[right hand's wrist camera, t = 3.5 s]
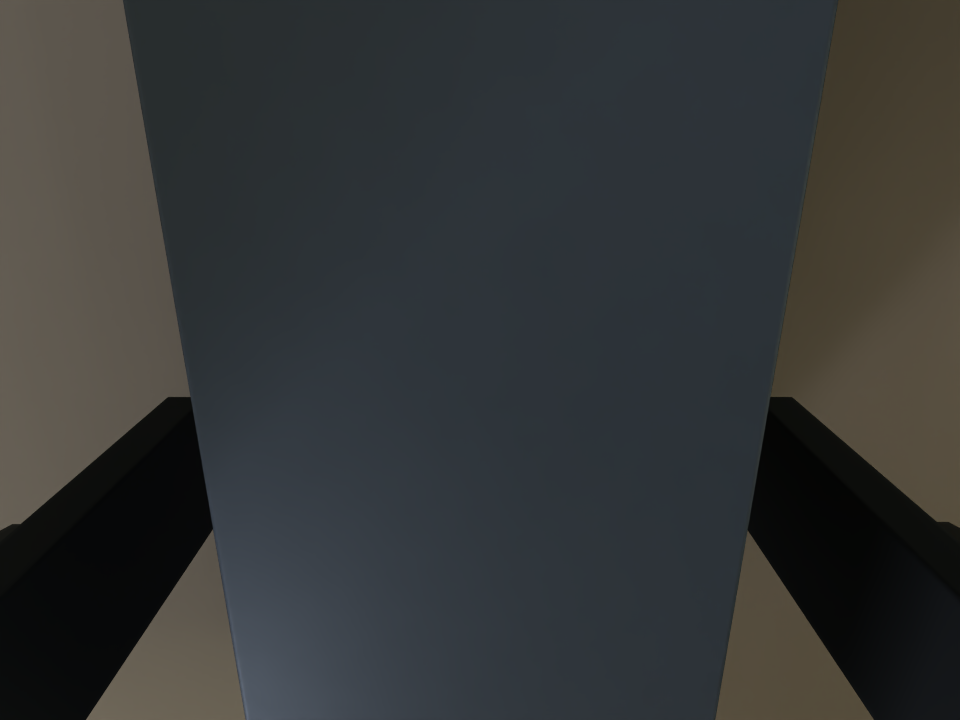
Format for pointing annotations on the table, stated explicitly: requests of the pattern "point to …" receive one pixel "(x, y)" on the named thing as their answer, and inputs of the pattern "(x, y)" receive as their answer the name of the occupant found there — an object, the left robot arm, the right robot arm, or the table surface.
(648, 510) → the bar
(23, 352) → the table surface
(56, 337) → the table surface
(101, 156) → the table surface
